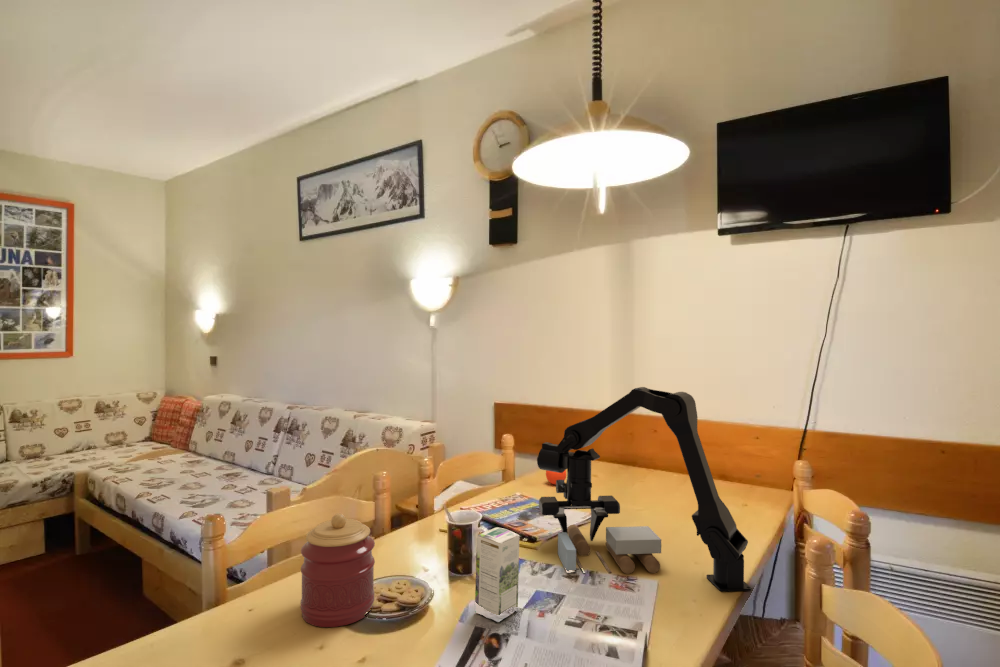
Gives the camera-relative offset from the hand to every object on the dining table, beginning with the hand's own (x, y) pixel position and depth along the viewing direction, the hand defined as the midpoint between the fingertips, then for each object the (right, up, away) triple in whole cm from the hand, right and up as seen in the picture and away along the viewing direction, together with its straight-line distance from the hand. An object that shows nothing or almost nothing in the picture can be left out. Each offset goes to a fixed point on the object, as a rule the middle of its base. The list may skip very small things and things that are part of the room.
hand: (578, 540), depth 130 cm
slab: (+11, +2, -9) cm, 14 cm away
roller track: (+6, -1, -10) cm, 12 cm away
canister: (-49, -1, -31) cm, 58 cm away
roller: (0, -1, 0) cm, 1 cm away
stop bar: (-4, -1, -10) cm, 11 cm away
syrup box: (-19, -1, -32) cm, 37 cm away
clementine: (0, -1, +52) cm, 52 cm away
